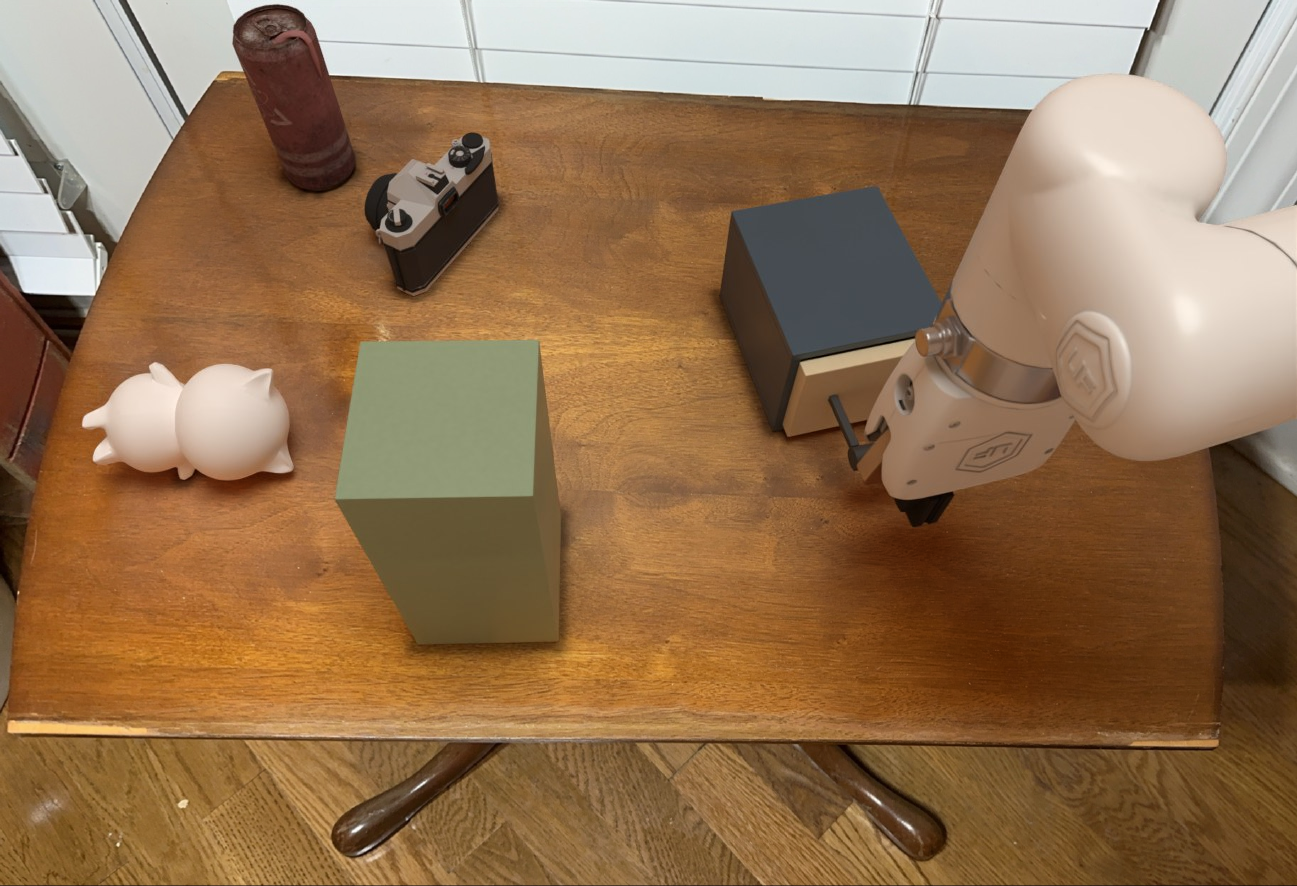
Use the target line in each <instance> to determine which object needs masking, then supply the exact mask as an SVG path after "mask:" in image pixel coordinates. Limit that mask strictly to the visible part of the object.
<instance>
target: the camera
mask: <svg viewBox="0 0 1297 886" xmlns="http://www.w3.org/2000/svg"><path fill="white" fill-rule="evenodd" d="M364 200H365V201H364V209H363V211H364V216H365V219H366V221H367V223H368V224H369V226H370V227H371V228H372V230H373V231H375V236H376V237H378V244H379V245H380V244H381V243H382V245H383V247H384V249H385V252H386V256H387V258H388V262H389V266H390V268H391V269H390V270H391V272H392V275H393V278H394V283H395V286H396V287H397V290H399V291H400V292H404V293H406V294H408V295H409V296H412V297H415V296H418V295H421V294H423V293H427V291H428V290H429V289H430V288H431V287H432V286H433V285H434V284H435V283H436V282H437V280H438V279H439V278H440V277H441V276H442V274H443V273H445V271H446V270H447V269H448V268H449V267H450V266H451V264H452V263H453V262H454V261H455V260H456V259H457V258H458V257H459V255H460V254H462V252H463V251H464V250H465V248H466V247H467V246H468V245H469V244H470V243H471V242H472V241H473V240H474V238H475V237H476V236H477V235H478V234H479V233H480V232H481V230H482V229H483V228H485V226H486V225H487V224H488V222H489V221H490V220H492V218H493V217H494V216H495V214H496V213H497V212H498V211H499V210H500V203H499V194H498V191H497V183H496V176H495V170H494V161H493V153H492V149H491V141H490V139H489V138H486V137H484V136H483V135H481V134H480V133H478V132H467V133H466V134H464V135H463V136H461V137H460V138H459V139H456V138H455V139H453V140H452V141H451V148H449V149H448V151H447V152H445V154H443V156H442V157H440V159H439V160H438V161H437V162H436V163H435V164H433V163H430V162H427V163H425V162H422V161H420V160H418V159H414V158H411V159H410V161H409V162H408V163H406V165H405V166H404V167H402V168H401V170H400V171H399V172H392V173H387V174H383V175H381V176H379V177H377V178H376V180H375V181H373V183H372V185H371V186H370V188H369V190H368V192H367V194H366V196H365V199H364Z"/></svg>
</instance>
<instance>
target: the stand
mask: <svg viewBox="0 0 1297 886" xmlns="http://www.w3.org/2000/svg"><path fill="white" fill-rule="evenodd" d="M550 425H551V424H550V416H549V407H548V401H547V393H546V385H545V376H544V367H543V360H542V352H541V344H540V339H478V340H477V339H476V340H474V339H471V340H469V339H468V340H465V339H464V340H462V339H461V340H375V341H374V340H373V341H372V340H363V341H362V340H361V341H360V342H359V347H358V353H357V359H356V366H355V370H354V378H353V382H352V391H351V395H350V402H349V408H348V414H347V420H346V425H345V432H344V438H343V445H342V451H341V455H340V456H341V457H340V463H339V468H338V475H337V480H336V485H335V486H336V487H335V492H334V502H335V503H336V504H337V506H338V508H339V510H340V512H341V513H342V516H343V517H344V518H345V521H346V522H347V524H348V526H349V527H350V529H351V531H352V533H353V534H354V536H355V537H356V539H357V542H358V543H359V544H360V547H361V548H362V550H363V551H364V553H365V555H366V557H367V559H368V561H369V562H370V564H371V566H372V568H373V570H374V571H375V572H376V574H377V576H378V578H379V580H380V581H381V583H382V585H383V586H384V588H385V590H386V592H387V594H388V595H389V597H390V599H391V601H392V602H393V604H394V606H395V608H396V609H397V611H398V613H399V614H400V616H401V618H402V620H403V621H404V623H405V625H406V627H407V629H408V630H409V632H410V634H411V635H412V637H413V640H414V641H415V642H416V644H417V645H418V646H419V645H421V646H422V645H460V644H461V645H464V644H465V645H466V644H508V643H510V644H511V643H513V644H514V643H515V644H516V643H517V644H518V643H555V642H556V643H557V642H559V641H560V639H559V638H560V597H561V596H560V593H561V592H560V590H561V589H560V587H561V547H562V545H561V544H562V543H561V540H562V539H561V538H562V514H561V506H560V504H561V503H560V497H559V489H558V481H557V480H558V479H557V473H556V465H555V464H556V463H555V457H554V449H553V442H552V435H551V434H552V433H551V432H552V431H551V426H550Z"/></svg>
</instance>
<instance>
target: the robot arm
mask: <svg viewBox="0 0 1297 886" xmlns="http://www.w3.org/2000/svg"><path fill="white" fill-rule="evenodd" d="M1227 153H1228V152H1227V148H1226V144H1225V139H1224V136H1223V134H1222V133H1221V130H1220V129H1219V127H1218V125H1217V124H1216V122H1215V121H1214V120H1213V118H1212V117H1211V116H1210V115H1209V114H1208V112H1207V110H1205V109H1204V108H1203V107H1202V106H1201V105H1200V104H1199V103H1198V102H1197V101H1195V100H1194V99H1192V98H1191V97H1190V96H1188V95H1187V94H1185V93H1183V92H1182V91H1181V90H1178V89H1176V88H1175V87H1172V86H1170V85H1168V84H1165V83H1163V82H1160V81H1158V80H1154V79H1151V78H1148V77H1144V76H1139V75H1134V74H1127V73H1114V72H1113V73H1098V74H1089V75H1085V76H1080V77H1077V78H1074V79H1071V80H1069V81H1067V82H1065V83H1062V84H1061V85H1059V86H1057V87H1056V88H1054V89H1053V90H1051V91H1050V92H1048V93H1047V94H1046V95H1045V96H1044V97H1043V98H1042V99H1041V100H1040V101H1039V102H1038V103H1037V104H1036V105H1035V106H1034V107H1033V109H1032V110H1031V111H1030V112H1029V114H1028V116H1027V118H1026V120H1025V122H1024V124H1023V126H1022V128H1021V129H1020V132H1019V134H1018V135H1017V138H1016V140H1015V142H1014V144H1013V146H1012V148H1011V151H1010V153H1009V155H1008V158H1007V160H1006V162H1005V164H1004V166H1003V168H1002V170H1001V174H1000V175H999V177H998V180H997V182H996V184H995V186H994V189H993V190H992V193H991V195H990V198H989V199H988V202H987V204H986V205H985V208H984V210H983V212H982V215H981V217H980V219H979V221H978V223H977V226H976V228H975V229H974V232H973V234H972V237H971V238H970V241H969V244H968V245H967V248H966V250H965V252H964V254H963V256H962V259H961V261H960V263H959V266H958V268H957V270H956V272H955V274H954V276H953V279H952V281H951V283H950V284H949V286H948V289H947V291H946V293H945V295H944V297H943V301H941V303H942V305H941V307H940V309H939V311H938V313H937V315H936V318H935V320H934V322H933V324H932V325H931V326H930V327H928V328H924V329H919V330H917V332H916V336H915V341H914V342H913V344H912V345H911V346H910V347H909V349H908V350H907V352H906V353H905V354H904V356H903V357H902V358H901V360H900V361H899V363H898V364H897V366H896V367H895V369H894V370H893V372H892V374H891V375H890V377H889V379H888V380H887V382H886V384H885V385H884V387H883V389H882V391H881V393H880V394H879V396H878V398H877V400H876V402H875V404H874V407H873V409H872V411H871V413H870V416H869V418H868V420H866V424H865V428H864V432H863V439H864V441H866V442H869V443H873V442H875V443H874V444H873V445H872V446H871V448H870V449H869V450H868V451H867V453H866V454H865V455H864V456H863V458H862V459H861V460H860V461H859V462H858V464H857V465H856V466H857V469H858V473H859V475H860V478H861V481H862V483H863V485H865V486H870V485H880V484H882V485H883V486H884V488H885V491H886V492H887V493H888V495H889V496H890V497H892V498H893V501H894V503H895V505H896V507H897V510H898V512H900V513H901V514H902V513H905V516H906V517H907V520H908V522H909V525H910V526H911V527H912V528H913V529H915V528H920V527H922V526H923V525H924V524H927V525H931V524H935V523H938V522H939V520H940V519H941V517H942V515H943V514H944V513H945V511H946V509H947V508H948V506H949V505H950V503H951V502H952V500H953V499H954V497H955V493H954V492H956V491H957V492H958V491H962V490H964V489H968V488H973V487H978V486H981V485H986V484H990V483H994V482H999V481H1002V480H1007V479H1010V478H1014V477H1018V476H1021V475H1025V474H1027V473H1030V472H1033V471H1035V470H1037V469H1039V468H1041V467H1042V466H1043V465H1044V464H1045V463H1046V462H1047V461H1048V460H1049V459H1050V458H1051V457H1052V456H1053V454H1054V453H1055V451H1056V450H1057V449H1058V447H1059V446H1060V444H1061V443H1062V441H1063V440H1064V438H1065V437H1066V435H1067V434H1068V432H1069V431H1070V430H1071V428H1072V426H1073V424H1074V423H1075V421H1076V423H1077V424H1078V426H1079V427H1080V429H1081V430H1082V431H1083V432H1084V433H1085V434H1086V435H1087V436H1088V437H1089V439H1090V440H1091V441H1092V442H1093V443H1095V444H1096V445H1097V446H1098V447H1100V448H1101V449H1102V450H1104V451H1106V452H1108V453H1110V454H1112V455H1113V456H1114V457H1115V456H1116V457H1118V458H1122V459H1125V460H1130V461H1137V462H1158V461H1164V460H1169V459H1173V458H1178V457H1183V456H1186V455H1190V454H1192V453H1195V452H1199V451H1201V450H1206V449H1208V448H1211V447H1215V446H1218V445H1221V444H1224V443H1227V442H1231V441H1234V440H1237V439H1241V438H1244V437H1247V436H1250V435H1253V434H1257V433H1259V432H1263V431H1266V430H1269V429H1273V428H1274V427H1277V426H1280V425H1283V424H1287V423H1290V422H1292V421H1296V420H1297V204H1295V205H1290V206H1286V207H1285V206H1284V207H1281V208H1277V209H1273V210H1270V211H1266V212H1262V213H1259V214H1256V215H1255V214H1254V215H1251V216H1246V217H1243V218H1239V219H1235V220H1232V221H1227V222H1223V223H1219V224H1212V223H1207V222H1201V221H1200V220H1201V218H1202V217H1203V216H1204V214H1205V213H1206V212H1207V210H1208V209H1209V208H1210V206H1211V204H1212V203H1213V202H1214V200H1215V198H1216V197H1217V195H1218V193H1219V191H1220V189H1221V187H1222V184H1223V181H1224V178H1225V176H1226V175H1225V174H1226V171H1227V165H1228V162H1227V161H1228V159H1227V158H1228V157H1227Z"/></svg>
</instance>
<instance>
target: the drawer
mask: <svg viewBox="0 0 1297 886" xmlns="http://www.w3.org/2000/svg"><path fill="white" fill-rule="evenodd" d="M914 341H915V336H913V337H908V338H903V339H899V340H894V341H889V342H884V343H883V344H882V345H881V346H876V347H871V348H866V349H861V350H856V351H851V352H847V353H842V354H837V355H832V356H827V357H822V358H817V359H812V360H808V358H805V359H801V361H800V363H799V367H798V371H797V374H796V378H795V381H794V385H793V388H792V392H791V395H790V399H789V403H788V406H787V410H786V413H785V417H784V420H783V427H784V429H783V430H784V432H785V435H786V437H789V438H790V437H794V436H799V435H804V434H808V433H812V432H817V431H822V430H826V429H830V428H831V429H832V428H835V427H839V429H840V432H841V433H842V436H843V437H844V440H845V443H846V445H847V447H848V449H847V460H848V464H849V466H850V468H851V470H852V471H854V472H857V471H858V469H857V466H856V465H857V464H858V462H859V461H860V460H861V459H862V458H863V456H864V455H865V454H866V453H867V451H868V450H869V449H870V448H871V446H872V445H873V444H874V443H875V442H869V443H865V444H860V442H859V440H858V438H857V436H856V433H855V430H854V429H853V426H852V424H854V423H859V422H864V421H868V418H869V416H870V413H871V411H872V409H873V407H874V404H875V402H876V400H877V398H878V396H879V394H880V393H881V391H882V389H883V387H884V385H885V384H886V382H887V380H888V379H889V377H890V375H891V374H892V372H893V370H894V369H895V367H896V366H897V364H898V363H899V361H900V360H901V358H902V357H903V356H904V354H905V353H906V352H907V350H908V349H909V347H910V346H911V345H912V344H913V342H914ZM858 472H859V471H858Z"/></svg>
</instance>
